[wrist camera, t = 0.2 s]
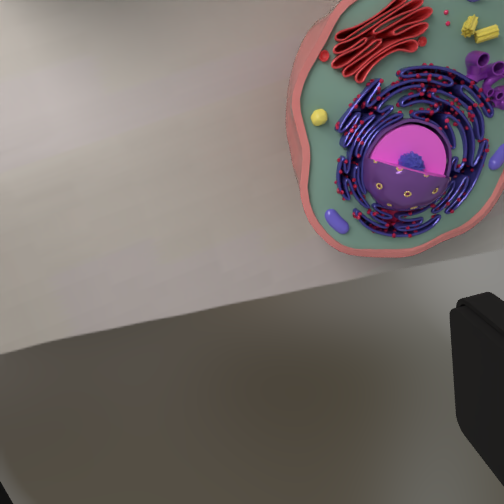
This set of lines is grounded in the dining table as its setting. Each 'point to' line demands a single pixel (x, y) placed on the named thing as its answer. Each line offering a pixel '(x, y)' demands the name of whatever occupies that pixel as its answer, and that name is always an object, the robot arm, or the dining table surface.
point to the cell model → (398, 122)
